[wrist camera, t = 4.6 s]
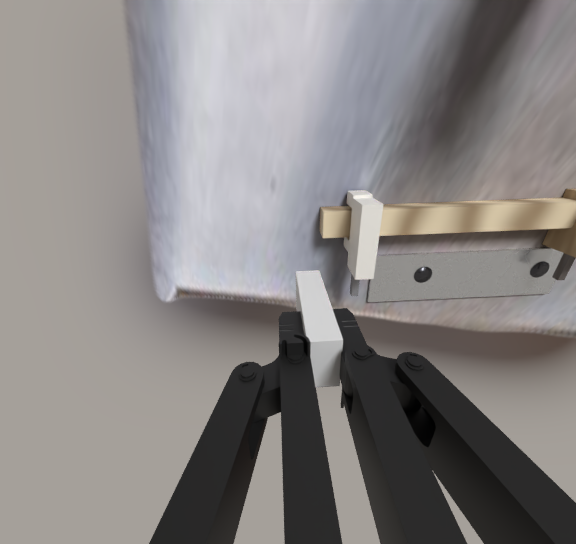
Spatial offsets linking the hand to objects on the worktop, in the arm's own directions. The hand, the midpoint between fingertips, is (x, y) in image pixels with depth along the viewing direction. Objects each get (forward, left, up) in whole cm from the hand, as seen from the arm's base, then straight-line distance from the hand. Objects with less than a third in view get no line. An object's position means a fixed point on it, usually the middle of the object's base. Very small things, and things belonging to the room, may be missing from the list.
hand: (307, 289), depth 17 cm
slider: (+3, +7, -16) cm, 18 cm away
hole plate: (+8, +23, -16) cm, 29 cm away
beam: (+3, +19, -16) cm, 25 cm away
